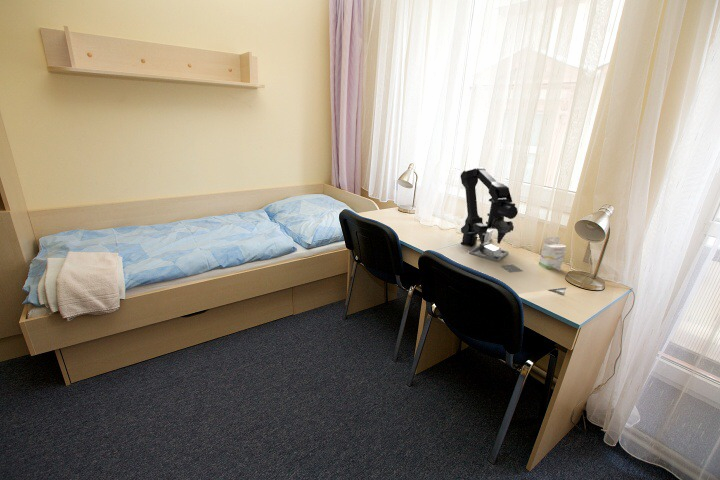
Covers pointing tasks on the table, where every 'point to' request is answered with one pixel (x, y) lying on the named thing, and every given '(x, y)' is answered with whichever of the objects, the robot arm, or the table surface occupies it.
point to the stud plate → (511, 268)
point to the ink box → (552, 253)
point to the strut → (490, 250)
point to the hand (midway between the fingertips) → (490, 243)
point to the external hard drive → (558, 290)
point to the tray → (477, 249)
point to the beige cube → (488, 235)
